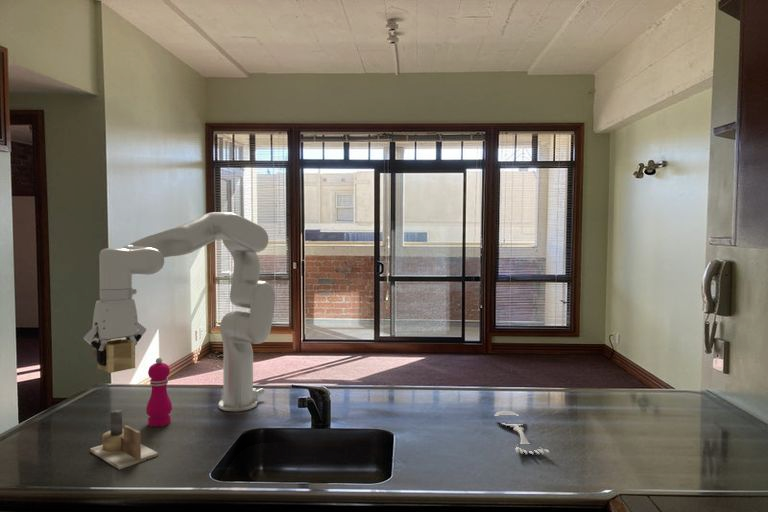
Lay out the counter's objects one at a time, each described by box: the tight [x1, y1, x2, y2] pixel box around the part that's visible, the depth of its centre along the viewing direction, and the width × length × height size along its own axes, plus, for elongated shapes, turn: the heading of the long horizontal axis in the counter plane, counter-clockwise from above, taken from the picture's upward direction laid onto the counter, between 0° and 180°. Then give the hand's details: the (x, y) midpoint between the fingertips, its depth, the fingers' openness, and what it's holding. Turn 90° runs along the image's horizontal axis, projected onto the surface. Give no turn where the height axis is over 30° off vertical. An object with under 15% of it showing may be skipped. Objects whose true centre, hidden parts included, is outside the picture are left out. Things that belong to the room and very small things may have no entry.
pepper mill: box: [145, 357, 173, 427], centre depth 159 cm, size 7×7×20 cm
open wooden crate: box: [92, 337, 136, 374], centre depth 142 cm, size 16×7×7 cm, turn 52°
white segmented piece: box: [494, 410, 550, 456], centre depth 154 cm, size 9×32×4 cm, turn 0°
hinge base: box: [89, 409, 159, 470], centre depth 138 cm, size 16×10×10 cm, turn 52°
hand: (116, 361), depth 139 cm, fingers closed on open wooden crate, 6 cm apart
